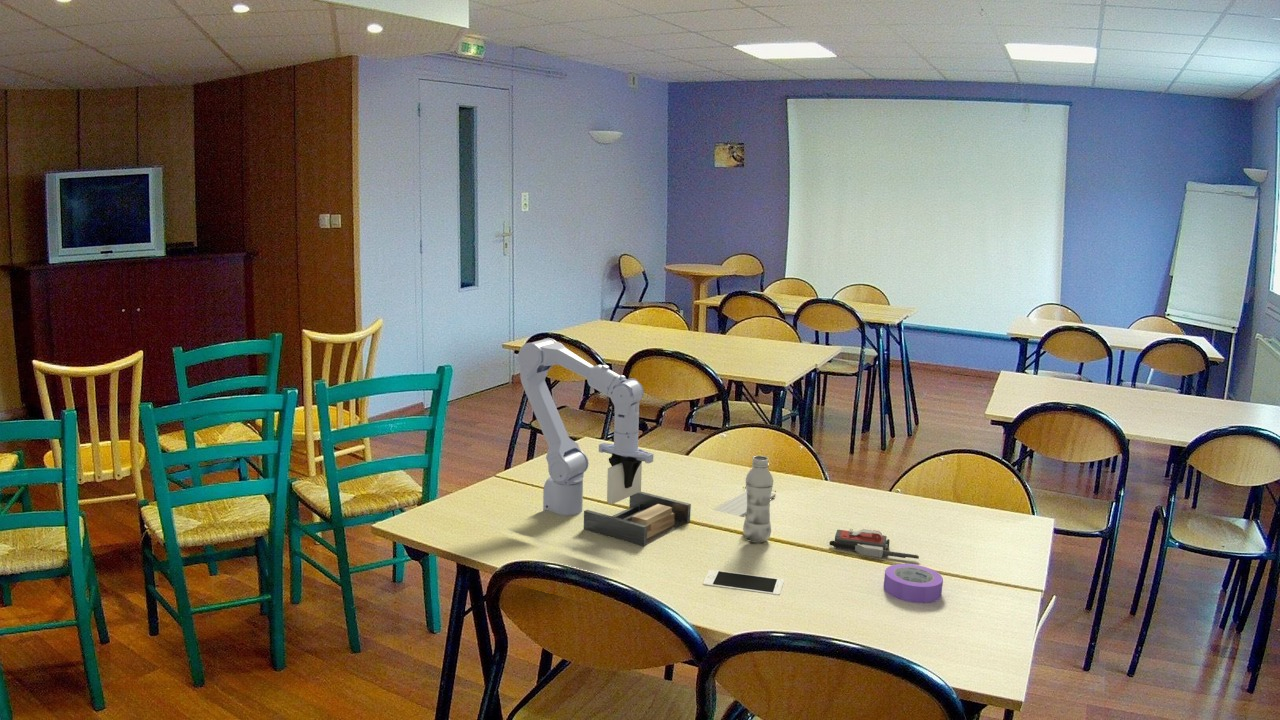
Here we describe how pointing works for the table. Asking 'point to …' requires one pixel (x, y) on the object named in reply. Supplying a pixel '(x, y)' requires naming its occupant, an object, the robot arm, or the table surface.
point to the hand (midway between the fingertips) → (624, 486)
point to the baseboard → (736, 505)
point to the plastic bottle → (758, 501)
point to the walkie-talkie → (866, 543)
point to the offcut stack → (655, 519)
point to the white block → (621, 484)
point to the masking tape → (913, 583)
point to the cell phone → (744, 582)
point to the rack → (631, 531)
